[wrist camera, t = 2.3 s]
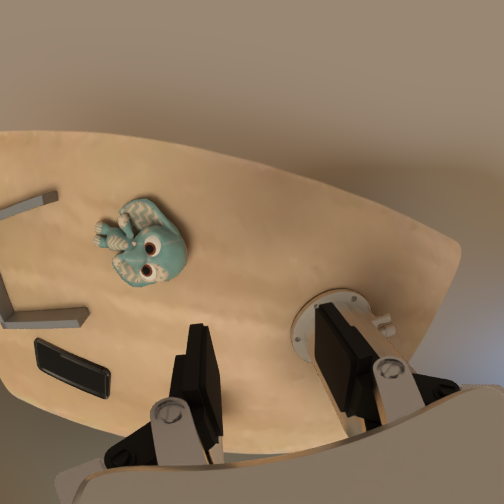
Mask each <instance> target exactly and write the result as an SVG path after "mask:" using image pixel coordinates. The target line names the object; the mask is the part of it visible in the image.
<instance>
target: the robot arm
mask: <svg viewBox="0 0 504 504" xmlns="http://www.w3.org/2000/svg"><path fill="white" fill-rule="evenodd" d="M315 304H316V305H315ZM390 321H391V316H390V314H389V313H386V314H383V315H380V316H377V317H376V316H375V315H373V314H372V310H371V307H370V305H369V303H368V302H367V300H366V299H365V298H364V297H363V296H361V295H360V294H359V293H357V292H355V291H353V290H348V289H336V290H331V291H328V292H325V293H322V294H320V295H319V296H317V297H315V298H314V299H312V300H311V301H310V302H308V303H307V304H306V305H305V306H304V307H303V308H302V309H301V311H300V312H299V313H298V315H297V316H296V318H295V320H294V323H293V325H292V329H291V342H292V345H293V348H294V350H295V352H296V353H297V355H298V356H299V357H300V358H302V359H303V360H305V361H307V362H309V363H312V364H314V366H315V369H316V371H317V373H318V375H319V377H320V379H321V381H322V383H323V386H324V388H325V390H326V392H327V394H328V396H329V398H330V400H331V403H332V405H333V407H334V409H335V411H336V413H337V415H338V418H339V420H340V422H341V424H342V426H343V428H344V431H345V432H346V434H347V436H348V437H349V438H346V439H343V440H340V441H337V442H334V443H330V444H327V445H323V446H319V447H316V448H312V449H308V450H304V451H299V452H295V453H290V454H285V455H281V456H275V457H270V458H263V459H257V460H250V461H243V462H234V463H222V464H214V462H213V459H212V457H211V454H210V451H209V450H210V449H211V448H212V447H213V446H214V445H215V444H219V436H223V423H222V406H221V387H220V374H219V369H218V365H217V361H216V357H215V353H214V349H213V345H212V340H211V336H210V332H209V328H208V326H204V325H203V323H200V324H191V325H190V327H189V334H188V342H187V350H186V354H185V355H176V357H175V362H174V368H173V374H172V380H171V387H170V393H169V397H168V398H164V399H161V400H159V401H158V402H156V403H155V404H154V405H153V406H152V408H151V410H150V420H151V421H150V422H149V423H147V424H146V425H144V426H143V427H141V428H140V429H138V430H137V431H135V432H134V433H132V434H131V435H129V436H128V437H126V438H125V439H124V440H122V441H120V442H118V443H117V444H115V445H114V446H112V447H111V448H110V449H108V451H107V452H106V454H105V457H104V458H103V459H101V460H100V459H99V458H96V459H94V460H91V461H89V462H86V463H84V464H82V465H79V466H76V467H74V468H71V469H69V470H66V471H63V472H61V473H60V474H58V475H57V477H56V478H55V488H56V491H57V494H58V497H59V499H60V502H61V504H504V389H503V387H501V386H499V385H466V384H462V385H461V387H459V386H458V385H457V384H456V383H454V382H453V381H451V380H447V379H441V378H436V377H430V376H425V375H420V374H417V373H416V372H415V371H414V370H413V368H412V367H411V366H410V365H409V364H408V362H407V361H406V360H405V359H404V358H403V357H402V356H401V354H400V353H399V352H398V351H397V350H396V349H395V348H394V346H393V345H392V344H391V343H390V342H389V341H388V340H387V339H386V338H388V337H391V336H394V335H395V333H396V328H395V326H394V324H388V325H385V326H382V327H380V328H378V325H380V324H385V323H388V322H390Z"/></svg>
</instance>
